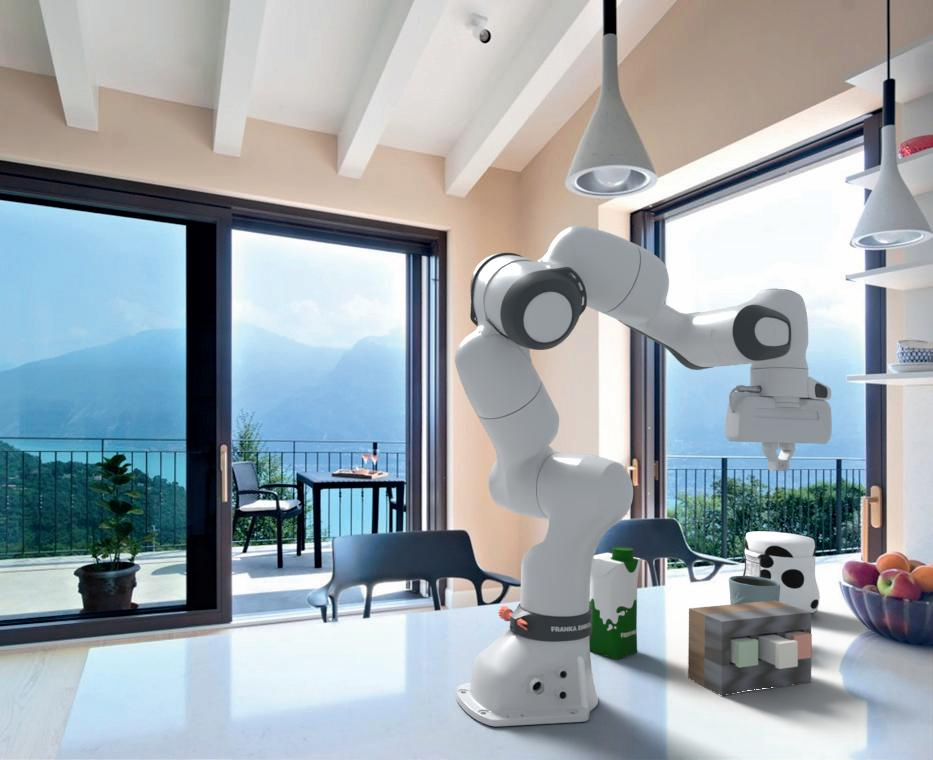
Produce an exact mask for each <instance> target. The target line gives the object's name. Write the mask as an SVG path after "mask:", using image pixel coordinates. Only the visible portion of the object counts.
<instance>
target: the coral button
mask: <svg viewBox="0 0 933 760" xmlns="http://www.w3.org/2000/svg"><path fill="white" fill-rule="evenodd" d="M812 638H813V637H812V632H811V633H808V632H807V633H804V632H801V631H798V630H794V631H785V639H788V640H790V641H791V640H795V641H797V642H798V659H805V658H811V659H812V655H813V651H812V649H813V648H812V647H813V646H812V640H813V639H812Z"/></svg>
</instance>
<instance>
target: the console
mask: <svg viewBox="0 0 933 760" xmlns="http://www.w3.org/2000/svg"><path fill="white" fill-rule="evenodd" d="M794 630H798V631H801V632H804V633H807V632H808V633H811V634H812V615H811V612H809V611H806V610H803V609H800V608H797V607H794V606H791V605H787V604H784V603H781V602H778V601H775V600H774V601H763V602H753V603H742V604H731V603H730V604H722V605H711V606H701V607H690V608H688V652H687V653H688V656H687V659H688V661H687V662H688V663H687V664H688V665H687V667H688V669H687V670H688V671H687V676H688V677H687V679H689V678H690V679H691V681H692V680H694V681H695V683H696V682H697V683H696V684H698V683H699V684H698V685H700V686H702V687H703V686H704V687H703V688H705V687H706V688H705V689H707V688H708V689H707V690H709V689H710V690H709V691H711V690H712V691H711V692H713V691H714V692H716V693H718V694H720V695H726V694H732V693H737V692H742V691H747V690H754V689H755V690H756V689H762V688H770V689H772V688H771V687H777V688H780V687H779V686H783V687H786V686H785V685H790V686H793V685H792V684H796V685H800V684H799V683H802V684H808V682H809V683H812V658H805V659H798V666H797V667H790V668H783V669H778V668H776V667H775V665H773V664H771V663H769V662H766V661H764V660H762V659H759V658H758V665H754V666H747V667H740V668H739V667H737V666H736V664H735V663H732V662H730V638H734V637H743V636H745V637H747V638H750V639H756V640H758V636H762V635H770V634H775V635H777V636H780V637H783V638H785V631H794ZM690 679H689V680H690ZM694 681H693V682H694ZM714 692H713V693H714ZM716 693H715V694H716ZM718 694H717V695H718ZM720 695H719V696H720ZM732 695H733V694H732ZM726 696H727V695H726Z"/></svg>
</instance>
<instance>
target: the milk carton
mask: <svg viewBox="0 0 933 760" xmlns="http://www.w3.org/2000/svg"><path fill="white" fill-rule="evenodd" d="M611 550H612V551H611V552H612V553H611V552H603V553H599V554H594V557H593V561H592V567H591V578H590V597H589V608H590V609H591V610H592V634H591V639H590V653H591V652H592V653H595V654H598V655H601V656H605V657H607V658H611V659H614V660H617V661H619V660H621V659H623V658H625V657H628V656H630V655H633V654H635V653H637V652H638V635H637V634H638V632H637V630H638V629H637V626H638V625H637V622H638V619H637V618H638V617H637V616H638V614H637V613H638V580H639V574H640V567H641V564H642V563H641V561H642V559H641V558H640V557H635V555H634V548H632V547H628V546H613V547H612V549H611Z"/></svg>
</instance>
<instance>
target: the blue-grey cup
mask: <svg viewBox="0 0 933 760" xmlns="http://www.w3.org/2000/svg"><path fill="white" fill-rule="evenodd" d="M728 585H729V586H728V587H729V601H730V605H731V604H742V603H753V602H763V601H774V600H775V601H778V602H779V597H780V583H779V582H778V581H775V580H772V579H768V578H762V577H754V576H743V575H733V576H730V577H728Z"/></svg>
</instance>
